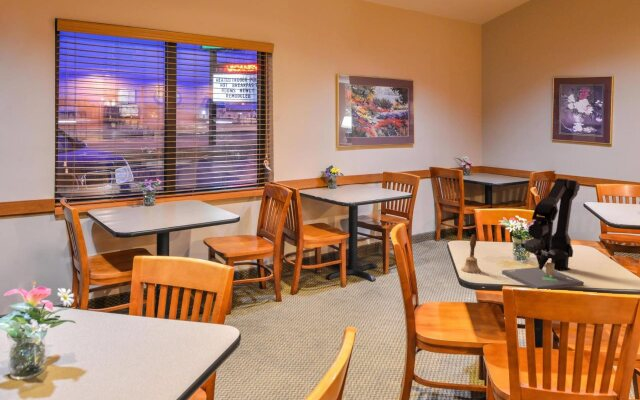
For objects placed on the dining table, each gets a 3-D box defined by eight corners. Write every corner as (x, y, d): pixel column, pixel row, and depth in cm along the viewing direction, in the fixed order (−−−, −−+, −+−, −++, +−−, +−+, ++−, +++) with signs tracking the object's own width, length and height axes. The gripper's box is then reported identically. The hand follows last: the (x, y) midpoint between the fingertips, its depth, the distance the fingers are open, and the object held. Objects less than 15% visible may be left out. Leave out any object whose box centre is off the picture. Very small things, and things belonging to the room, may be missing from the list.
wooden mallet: (537, 266, 223) (538, 254, 222) (545, 266, 223) (546, 254, 222) (546, 277, 207) (547, 264, 207) (555, 278, 207) (556, 265, 206)
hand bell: (477, 267, 227) (479, 232, 224) (483, 273, 219) (485, 237, 216) (458, 267, 227) (460, 232, 224) (464, 273, 218) (466, 236, 216)
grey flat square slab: (544, 269, 224) (544, 266, 224) (583, 285, 204) (583, 281, 203) (501, 273, 218) (502, 270, 218) (537, 290, 197) (537, 286, 197)
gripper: (512, 229, 214) (509, 264, 217) (547, 241, 197) (543, 279, 200) (533, 226, 218) (529, 261, 221) (568, 238, 201) (564, 275, 204)
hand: (540, 269), depth 211 cm, fingers closed
